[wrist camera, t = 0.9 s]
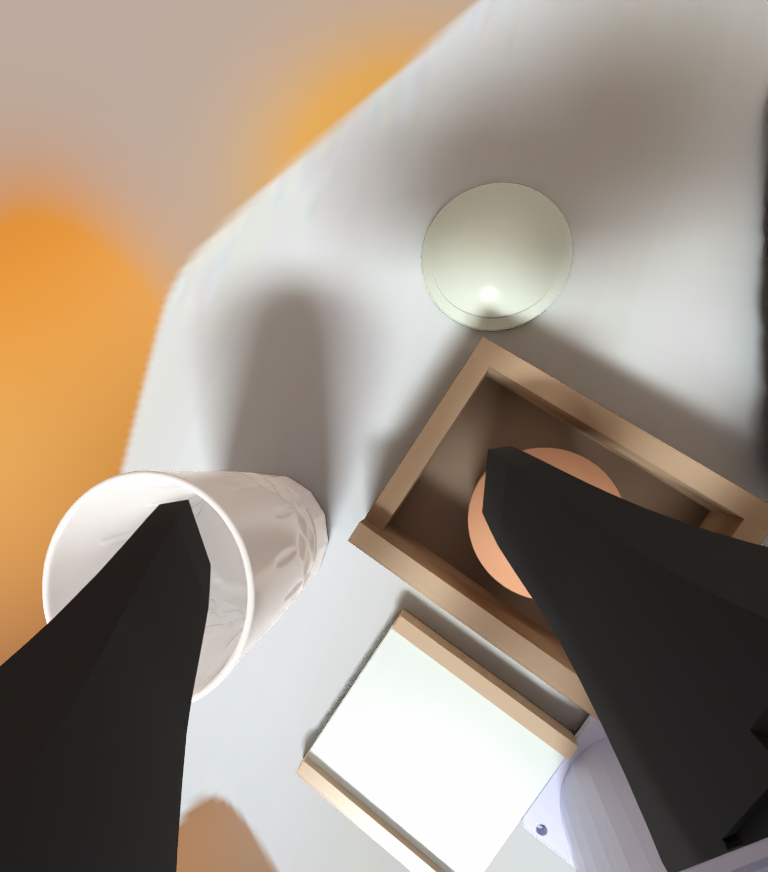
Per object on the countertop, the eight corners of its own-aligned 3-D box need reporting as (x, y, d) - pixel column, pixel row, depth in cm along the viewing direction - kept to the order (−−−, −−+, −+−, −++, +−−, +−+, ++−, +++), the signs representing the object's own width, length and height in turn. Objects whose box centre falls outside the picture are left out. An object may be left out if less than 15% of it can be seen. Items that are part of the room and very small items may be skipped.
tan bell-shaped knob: (606, 490, 21) (659, 503, 15) (541, 585, 21) (570, 631, 16) (505, 427, 22) (521, 418, 16) (444, 519, 22) (439, 542, 16)
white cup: (183, 511, 25) (5, 550, 15) (290, 436, 24) (175, 425, 14) (251, 632, 24) (109, 756, 14) (366, 557, 23) (299, 636, 13)
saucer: (601, 230, 22) (608, 219, 21) (517, 358, 22) (519, 353, 21) (472, 164, 23) (472, 150, 22) (395, 286, 23) (392, 279, 22)
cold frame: (735, 503, 20) (802, 515, 16) (602, 691, 21) (636, 747, 17) (479, 351, 23) (484, 330, 19) (366, 525, 23) (347, 540, 19)
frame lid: (572, 732, 21) (578, 746, 20) (460, 891, 22) (460, 913, 21) (402, 608, 23) (400, 615, 22) (302, 759, 23) (295, 773, 22)
